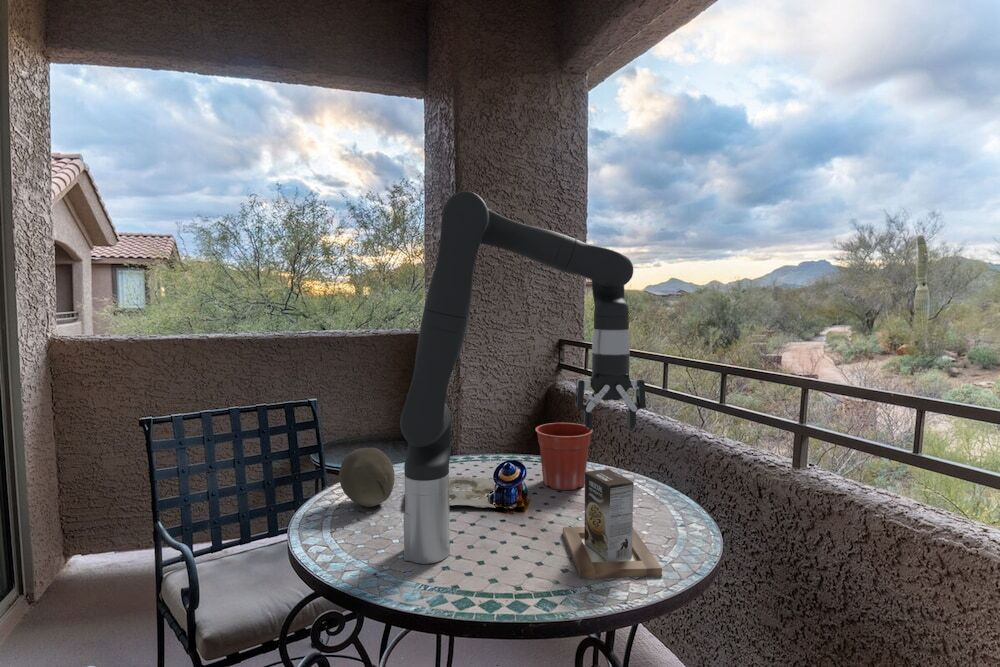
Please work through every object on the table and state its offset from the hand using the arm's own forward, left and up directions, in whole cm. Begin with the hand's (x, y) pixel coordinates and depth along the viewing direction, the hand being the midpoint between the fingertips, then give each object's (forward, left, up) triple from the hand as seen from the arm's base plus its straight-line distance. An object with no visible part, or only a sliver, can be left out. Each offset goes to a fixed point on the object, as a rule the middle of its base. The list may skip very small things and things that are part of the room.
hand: (609, 428), depth 107 cm
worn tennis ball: (-56, +29, -27) cm, 69 cm away
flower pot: (-2, +42, -27) cm, 50 cm away
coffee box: (0, 0, -26) cm, 26 cm away
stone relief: (-31, +34, -27) cm, 53 cm away
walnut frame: (0, 0, -27) cm, 26 cm away
